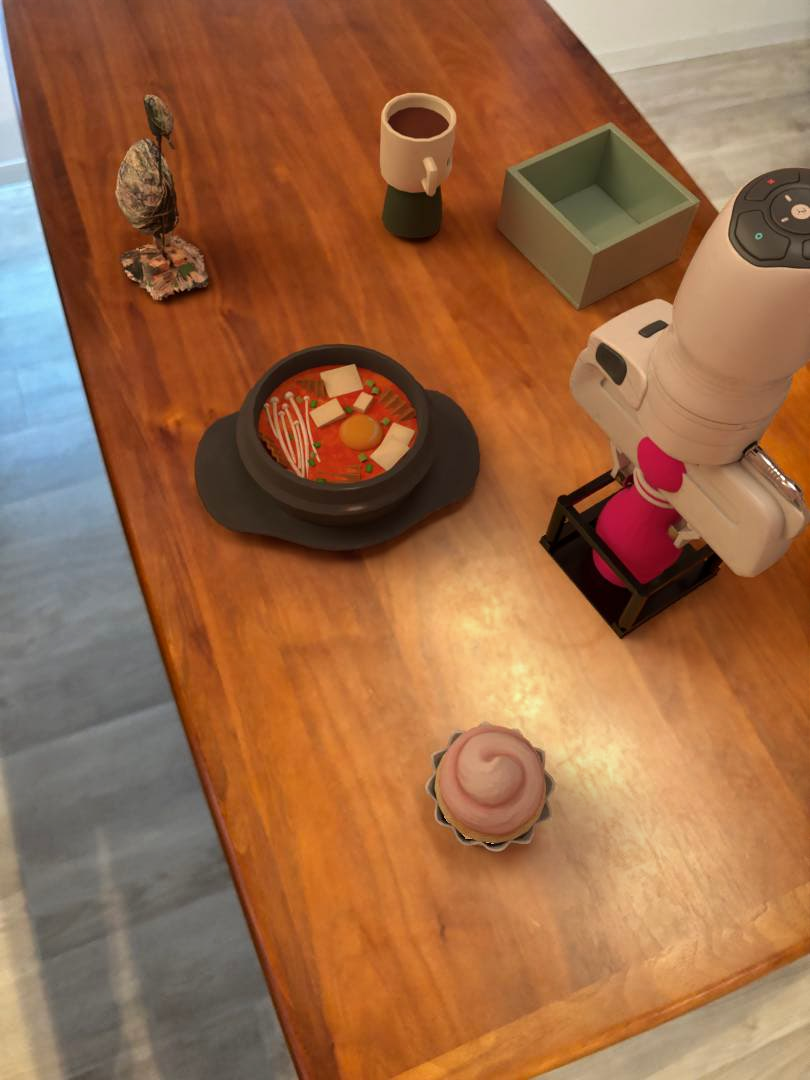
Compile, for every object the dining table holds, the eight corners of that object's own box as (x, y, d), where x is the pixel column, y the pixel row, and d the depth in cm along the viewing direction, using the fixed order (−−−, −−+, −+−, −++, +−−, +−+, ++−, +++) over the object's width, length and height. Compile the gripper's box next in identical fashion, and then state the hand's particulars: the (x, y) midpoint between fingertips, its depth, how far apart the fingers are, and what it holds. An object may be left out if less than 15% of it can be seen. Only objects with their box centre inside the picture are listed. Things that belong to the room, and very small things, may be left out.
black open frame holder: (633, 486, 91) (654, 438, 84) (716, 577, 86) (746, 533, 80) (537, 544, 87) (552, 498, 81) (619, 641, 83) (642, 601, 76)
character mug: (459, 254, 103) (473, 148, 92) (393, 266, 102) (398, 160, 91) (429, 182, 108) (438, 74, 97) (365, 192, 107) (367, 84, 96)
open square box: (595, 181, 110) (611, 121, 103) (678, 258, 104) (701, 201, 98) (496, 227, 105) (505, 168, 99) (577, 311, 100) (593, 254, 94)
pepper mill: (674, 596, 85) (756, 465, 67) (589, 593, 84) (649, 461, 67) (665, 522, 88) (741, 379, 71) (583, 519, 88) (639, 375, 71)
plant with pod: (191, 216, 104) (159, 37, 87) (215, 295, 99) (186, 121, 82) (112, 231, 103) (63, 52, 85) (133, 312, 97) (85, 138, 80)
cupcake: (537, 740, 78) (560, 693, 69) (551, 864, 73) (578, 830, 65) (417, 743, 77) (425, 697, 69) (423, 868, 73) (433, 835, 64)
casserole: (208, 583, 83) (194, 532, 76) (187, 405, 92) (173, 344, 85) (499, 538, 87) (513, 485, 79) (452, 371, 96) (461, 309, 88)
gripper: (853, 487, 64) (772, 587, 76) (642, 283, 72) (598, 403, 84) (784, 533, 62) (711, 628, 74) (574, 318, 70) (539, 435, 82)
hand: (650, 507), depth 79 cm, fingers closed on pepper mill, 5 cm apart
